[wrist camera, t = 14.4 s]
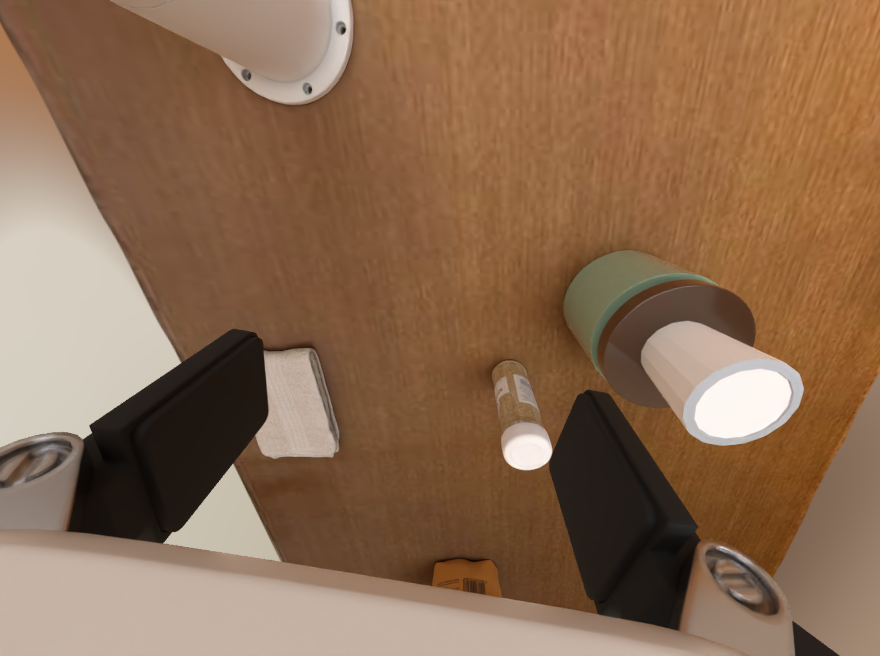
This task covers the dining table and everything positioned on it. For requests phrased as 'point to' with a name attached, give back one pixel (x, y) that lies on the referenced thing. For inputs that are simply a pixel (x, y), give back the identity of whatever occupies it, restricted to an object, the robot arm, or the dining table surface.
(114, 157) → the dining table surface
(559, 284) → the dining table surface
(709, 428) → the white tapered cup
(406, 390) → the dining table surface
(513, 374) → the sprinkles bottle
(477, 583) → the coffee package
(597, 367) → the jar
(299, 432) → the washcloth
